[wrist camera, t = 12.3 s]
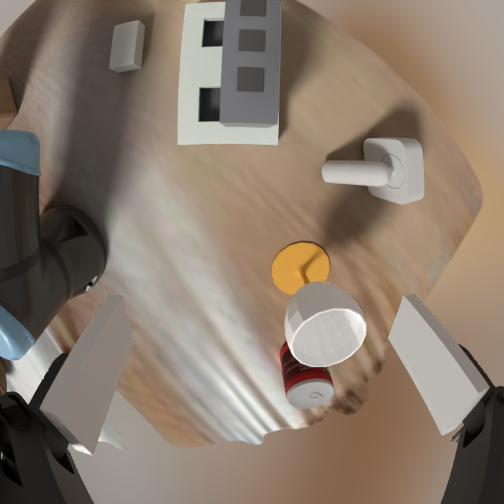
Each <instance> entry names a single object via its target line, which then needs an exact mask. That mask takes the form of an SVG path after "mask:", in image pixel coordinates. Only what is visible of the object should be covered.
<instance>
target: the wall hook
mask: <svg viewBox="0 0 504 504" xmlns="http://www.w3.org/2000/svg"><path fill="white" fill-rule="evenodd" d="M363 149H364V158H365V161H343V160H327V161H325V162H324V164H323V166H322V176H323V179H324V180H325V182H327V183H339V184H353V185H365V186H367V187H368V190H369V192H370V193H371V194H372V195H373V196H375V197H378V198H382V199H385V200H388V201H391V202H394V203H397V204H400V205H403V204H407V203H410V202H414V201H417V200H420V199H422V198H423V196H424V165H423V152H422V147H421V144H420V143H419V142H418V141H417V140H416V139H412V138H396V137H380V138H369V139H366V140H365V141H364V144H363Z"/></svg>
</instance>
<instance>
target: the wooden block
mask: <svg viewBox="0 0 504 504" xmlns="http://www.w3.org/2000/svg"><path fill="white" fill-rule="evenodd" d="M16 114H17V108H16V105H15V101H14V98H13V94H12V90H11V86H10V82H9V79H8V78H7V77H5V76H0V129H2V130H5V129H6V127H7V126H8V125H9V123H10V122H11V121H12V120H13V119H14V117H15V116H16Z"/></svg>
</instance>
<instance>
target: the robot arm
mask: <svg viewBox="0 0 504 504" xmlns="http://www.w3.org/2000/svg"><path fill="white" fill-rule="evenodd" d="M39 176H41V171H40V143H39V139H38V137H37V136H36V135H35V134H34V133H32V132H29V131H20V130H2V129H0V356H1V357H3V358H5V359H8V360H19V359H20V358H22V357H23V356H24V355H25V354H26V352H27V351H28V350H29V349H30V347H32V346H34V345H35V343H36V341H37V340H38V338H39V337H40V335H41V334H42V333H43V331H44V330H45V329H46V327H47V326H48V324H49V323H50V322H51V321H52V319H53V318H54V317H55V315H56V314H57V313H58V311H59V310H60V309H61V308H62V306H63V305H64V304H65V303H66V301H67V300H69V299H72V298H74V297H76V296H79V295H81V294H83V293H85V292H87V291H89V290H90V289H91V288H92V287H93V286H94V285H95V284H96V283H97V282H98V281H99V279H100V278H101V276H102V274H103V272H104V268H105V262H106V255H105V248H104V244H103V241H102V238H101V236H100V233H99V231H98V230H97V228H96V226H95V225H94V223H93V222H92V221H91V220H90V219H89V218H88V217H87V216H86V215H85V214H84V213H83V212H81V211H80V210H78V209H76V208H74V207H72V206H67V205H59V206H55V207H53V208H51V209H49V210H47V211H45V212H44V213H43V214H41V215H39ZM388 339H389V341H390V342H391V344H392V345H393V347H394V349H395V350H396V352H397V354H398V355H399V357H400V359H401V361H402V362H403V364H404V366H405V367H406V369H407V371H408V373H409V374H410V376H411V378H412V380H413V381H414V383H415V385H416V387H417V389H418V390H419V392H420V394H421V396H422V398H423V399H424V401H425V403H426V405H427V407H428V409H429V411H430V413H431V415H432V417H433V418H434V420H435V422H436V424H437V426H438V428H439V430H440V432H441V434H442V435H444V434H446V433H448V432H451V431H453V430H455V428H456V427H457V426H458V425H459V424H460V423H461V422H463V424H464V426H463V427H462V428H461V429H460V431H458V432H457V433H456V434H455V436H453V438H452V440H451V441H454V440H455V439H456V438H457V437H458V436H459V435H460V436H459V439H458V440H457V441H456V442H457V443H458V446H457V451H456V455H455V459H454V463H453V467H452V471H451V474H450V478H449V481H448V484H447V487H446V490H445V493H444V496H443V499H442V502H441V504H504V387H503V386H498V387H495V386H494V385H493V383H492V382H491V380H490V379H489V378H488V376H487V375H486V374H485V372H484V371H483V369H482V368H481V367H480V365H478V363H477V361H476V360H475V359H473V357H472V355H471V354H470V353H469V351H468V350H467V349H466V348H464V347H463V346H461V345H460V344H457V342H456V341H455V340H454V339H453V337H452V336H451V335H450V334H449V333H448V331H447V330H446V329H445V328H444V327H443V325H442V324H441V323H440V322H439V321H438V319H437V318H436V317H435V316H434V315H433V314H432V313H431V311H430V310H429V309H428V308H427V307H426V306H425V305H424V303H423V302H422V301H421V300H420V299H419V298H418V297H417V296H416V295H415V294H411V295H403V298H402V301H401V304H400V307H399V310H398V313H397V316H396V319H395V321H394V324H393V327H392V329H391V332H390V334H389V337H388ZM134 343H135V340H134V336H133V333H132V329H131V325H130V322H129V318H128V314H127V310H126V306H125V302H124V298H123V296H121V295H108V296H107V297H106V299H105V300H104V302H103V303H102V305H101V306H100V308H99V309H98V310H97V312H96V313H95V315H94V316H93V318H92V319H91V321H90V322H89V324H88V325H87V327H86V328H85V330H84V332H83V333H82V335H81V336H80V338H79V339H78V341H77V343H76V344H75V346H74V347H73V349H72V351H71V352H70V354H66V353H62V354H61V355H60V356H59V357H57V358H56V359H55V360H54V361H53V363H52V364H51V366H50V368H49V369H48V370H49V371H48V372H47V373H46V374H45V376H44V379H42V381H41V383H40V385H39V386H38V388H37V390H36V392H35V394H34V395H33V397H32V399H31V401H30V403H29V404H27V403H26V402H25V400H24V399H23V398H22V396H21V395H19V394H18V393H16V392H13V391H12V392H7V393H5V394H3V395H2V396H1V397H0V504H94V502H93V501H92V499H91V497H90V495H89V493H88V491H87V489H86V487H85V485H84V483H83V481H82V480H81V477H80V475H79V473H78V471H77V469H76V466H75V464H74V461H73V459H72V457H71V454H70V452H69V451H68V449H67V447H68V445H69V443H70V444H71V445H72V446H73V447H74V448H75V449H76V450H78V451H81V452H84V453H87V454H90V455H93V454H94V451H95V448H96V445H97V441H98V438H99V435H100V432H101V429H102V426H103V423H104V421H105V418H106V415H107V412H108V409H109V406H110V404H111V401H112V398H113V396H114V393H115V390H116V388H117V385H118V382H119V380H120V377H121V375H122V372H123V370H124V367H125V365H126V362H127V360H128V357H129V355H130V353H131V350H132V348H133V345H134ZM1 453H2V454H3V457H2V459H1Z"/></svg>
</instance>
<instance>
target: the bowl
mask: <svg viewBox="0 0 504 504" xmlns="http://www.w3.org/2000/svg"><path fill="white" fill-rule="evenodd" d="M5 393H7V382H6V374H5V367H4V365H3V363H2V362H1V360H0V397H1V396H2V395H3V394H5Z"/></svg>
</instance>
